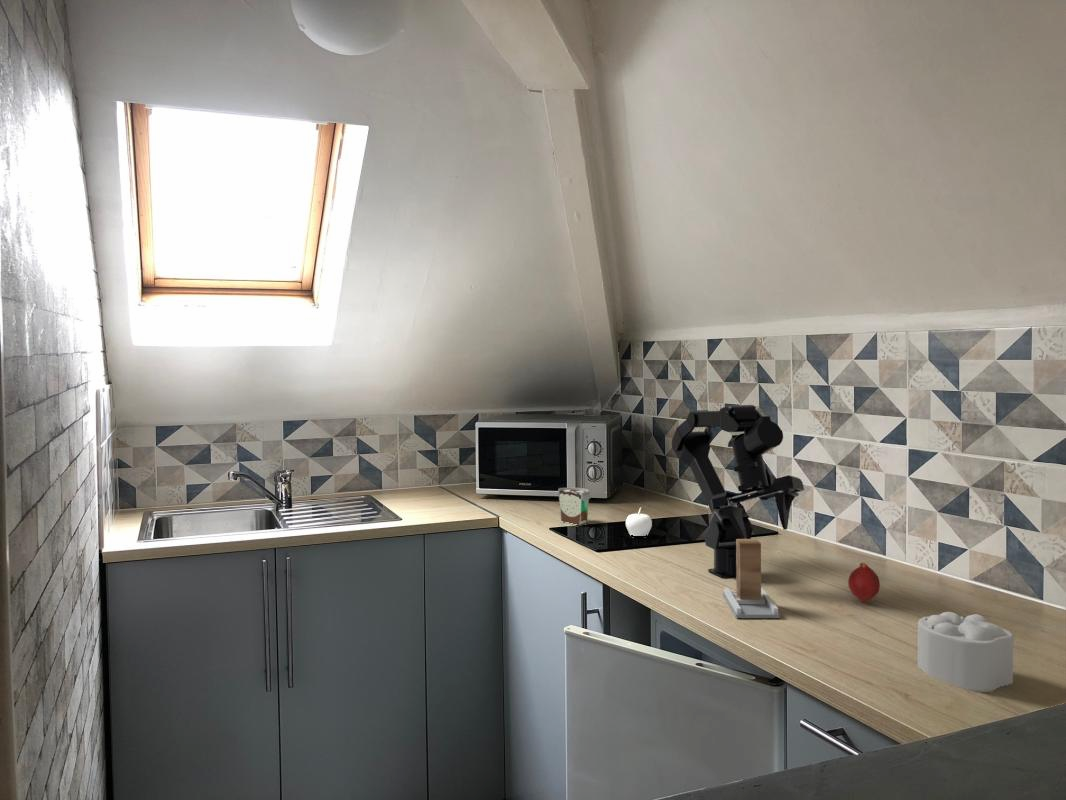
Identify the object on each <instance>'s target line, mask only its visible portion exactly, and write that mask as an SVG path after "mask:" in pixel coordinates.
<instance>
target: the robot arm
mask: <svg viewBox="0 0 1066 800" xmlns="http://www.w3.org/2000/svg"><path fill="white" fill-rule="evenodd" d="M717 427H718V428H719V429H720V430H721V431H724V432H727V433H740V434H733V435H731V437H730V439H729V441H728V442H727V447H728V448H732V450H733V451H732V452H733V457H734V461H735V466H734V467H733V469H734V473H737V477H738V482H739V485H738V486H737V490H738V492H739V493H734V492H730V491H726V490H725V488H724V486H723V484H722V481H721V480H720V477H719V475H718V473H717V471H716V469H715V468H714V465H713V464H712V462H711V460H710V457H709V456H710V455H709V454H710V451H711V445H710V444H711V442H712V441H713V438H714V437H713V433H712V430H711V428H717ZM695 428H704V430H703V431H700V430H699V431H698V430H697V431H693V430H695ZM672 436H673V437H672V438H671V449H672V450H673V451H674V454H675V455H676V457H677V458H678V461H680V462H681V463H684V464H685V465H686V466H688V467H689V468H690V470H691V472H692V474H693V476H694V479H695V480H696V483H697V485H698V487H699V489H700V491H701V492H702V495H703V497H704V499H705V502H706V504H707V505H708V508H709V511H710V513H711V515H710V520H709V528H708V529H707V531H706V534H705V535H704V543H705V546H706V547H708V548H711V549H712V550H713V568H708V569H707V571H708V572H709V573H711V574H713V575H716V576H718V577H719V578H724V579H725V578H732V577H736V539H752V534H753V524H752V522H751V520H750V519H749V518H750V515H748V513H747V511H746V509H745V507H744V505H743V502H746V501H751V500H754V499H758V498H759V499H760V500H761V501H768V500H769V499H772V498H774V499H775V503H776V507H777V512H778V515H779V516H778V517H779V520H780V524H781V527H782V529H783V530H785V531H786V530H787V529H788V526H789V519H790V511H791V508H792V507H791V506H792V503H793V501H794V499H795V498H796V497H798V496H799V495H800V494H799V493H800V492H803V491H805V488H804V487H805V486H804V483H803V481H802V479H801V478H800V477H797V476H794V475H784V476H781V477H778V478H776V477H775V475H773V474H771V473H770V470H769V467H768V464H765V461H764V457H763V455H764V454H766V453H768V452H771V451H772V450H773V449H775V448H777V447H778V446H780V445H781V444H782V442H783V439H784V432H783V430H782V429H781V427H780V426H779V425H778V423H776V422H774V421H772V419H771V416H770V415H764V416H763V415H762V414H761V413H760V412H759V410H757V407H756V406H755V405H753V404H743V405H739V404H738V405H726V406H723V407H721V408H720V409H719V410H709V409H704V410H703V409H700V410H699V409H698V410H697V409H696V410H692V411H690V412H689V413H688V414H687V418H686V419H685V420H684V421H683V422H682V423H680V424H679V425H678V426H677V427H676V428H675V431H674V434H673V435H672Z"/></svg>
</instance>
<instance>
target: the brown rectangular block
mask: <svg viewBox="0 0 1066 800" xmlns="http://www.w3.org/2000/svg"><path fill="white" fill-rule="evenodd" d="M735 577H736V580H735V581H736V584H735V585H736V586H735V587H736V589H735V590H736V591H735V592H736V593H732V595H733V596H734V598H735V599H736V601H737V603H738V604H765V599H764V598H763V596H762V595H761V588H762V544H761V541H759V539H757V538H751V539H736V576H735Z"/></svg>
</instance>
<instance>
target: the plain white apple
mask: <svg viewBox="0 0 1066 800" xmlns="http://www.w3.org/2000/svg"><path fill="white" fill-rule="evenodd" d="M641 510H642V507H639V510H638V512H637V513H632V514H629V515H628V516H627V518H626V520H625V527H626V529H627V531H628V534H629V535H630V536H631V535H633V536H646V535H647V536H648V535H649V533H650V531H651V529H652V527H653V524H652V523H653V520H652V518H651V517H650V516H649V515H648V514H646V513H641Z"/></svg>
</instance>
